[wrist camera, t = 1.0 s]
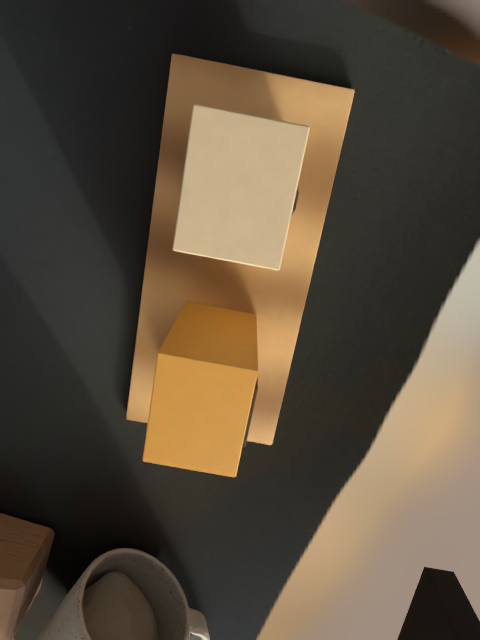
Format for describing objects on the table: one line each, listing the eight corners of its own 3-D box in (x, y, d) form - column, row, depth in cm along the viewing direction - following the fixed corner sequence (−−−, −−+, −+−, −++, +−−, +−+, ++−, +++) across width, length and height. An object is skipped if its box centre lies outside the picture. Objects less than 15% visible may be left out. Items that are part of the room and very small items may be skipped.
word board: (173, 55, 22) (171, 52, 22) (353, 91, 23) (355, 89, 22) (127, 415, 28) (125, 419, 28) (271, 441, 28) (272, 445, 28)
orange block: (186, 301, 26) (157, 352, 18) (260, 314, 26) (263, 371, 18) (173, 382, 27) (142, 461, 19) (243, 394, 27) (240, 478, 19)
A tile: (212, 129, 23) (192, 102, 15) (295, 145, 23) (316, 127, 15) (197, 229, 24) (171, 250, 17) (274, 243, 24) (285, 272, 17)
